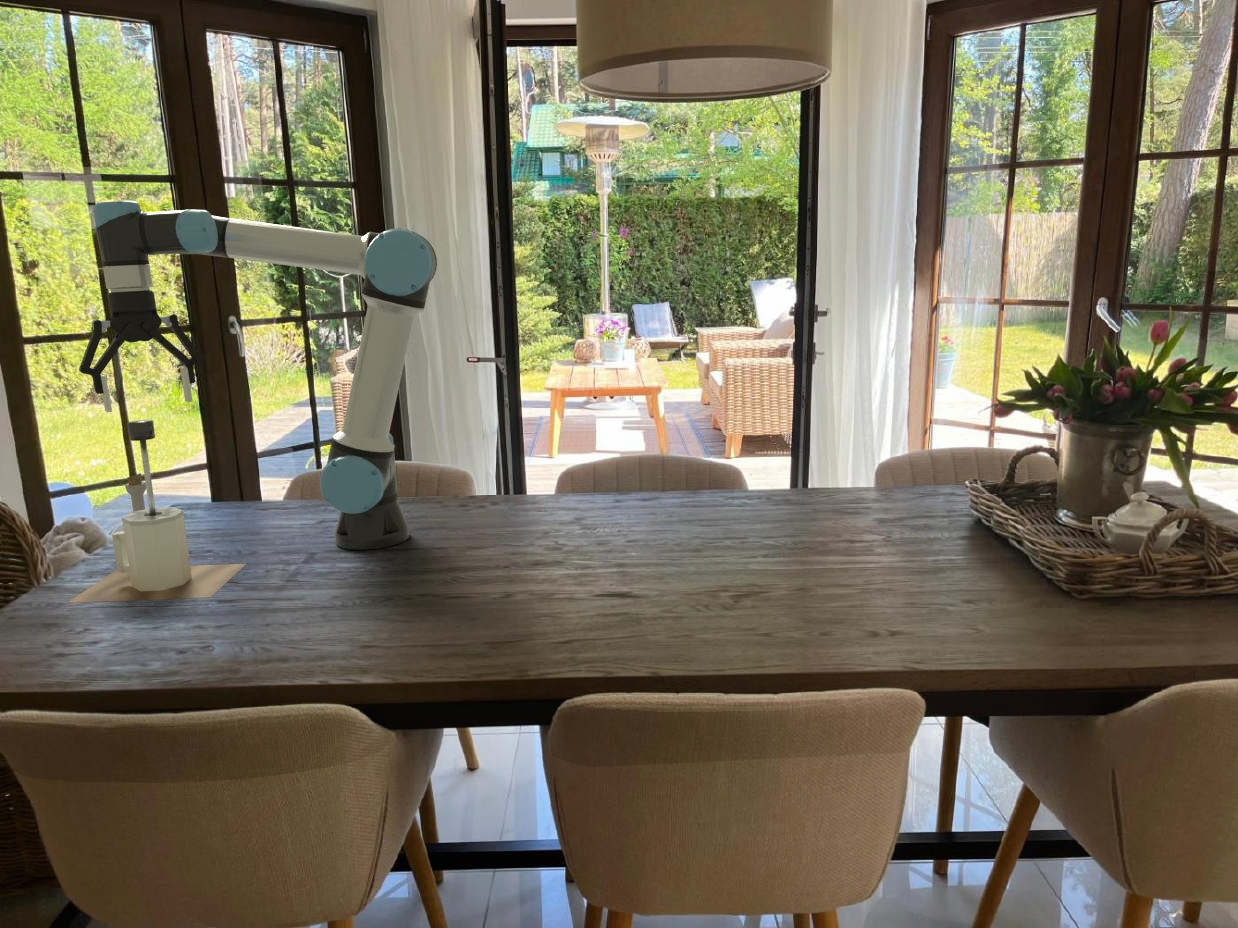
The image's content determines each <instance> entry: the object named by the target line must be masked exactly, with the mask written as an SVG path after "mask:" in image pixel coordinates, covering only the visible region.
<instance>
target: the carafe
mask: <svg viewBox="0 0 1238 928" xmlns="http://www.w3.org/2000/svg"><path fill="white" fill-rule="evenodd" d="M155 510H156V516H150V512H149V508H145V510H140V511H135V512H133V511H131V512H129V513H128V514H126V515H125V516H123V517H121V521H122V527H123V530H121V531H120V530H119V531H116V532H114V533H113V534H112V535H111V536H112V544H113V551H114V558H115V564H116V570H117V572H121V573H128V572H130V577H131V584H132V587H134V588H135V589H137V590H139V591H161V590H166V589H169V588H173V587H177V586H181V585H184V584H185V583H186V582H187V581H188V580H190V579H191V578H192V575H191V567H190V566H191V561H190V553H189V545H188V537H187V530H186V522H185V513H184V509H180V508H177V507H175V506H172V507H171V506H170V507H168V506H167V507H166V506H165V507H155Z"/></svg>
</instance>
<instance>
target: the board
mask: <svg viewBox="0 0 1238 928" xmlns="http://www.w3.org/2000/svg"><path fill="white" fill-rule="evenodd" d="M246 565H247V563H233V564H231V563H230V564H204V565H203V564H201V565H190V567H191V575H192V578H191V579H190V580H188V581H187V582H186V583H185V584H184V585H181V586H177V587H173V588H169V589H166V590H161V591H139V590H137V589H135V588H134V587H132V584H131V577H130V572H128V573H121V572H117V569H115V570H114V571H112V572H111V573H109V574H108V575H107V576H105V577H103V578H102V579H100V580H99V581H97V582H96V583H95V584H93V585H92V586H90V587H89V588H87V589H86V590H85V591H83V592H81V593H80V594H78V595H77V596H76V597H74V598H72V599H71V600H69V601H67V604H75V603H76V604H79V603H81V604H83V603H98V602H99V603H105V602H110V603H111V602H129V601H132V602H133V601H134V602H135V601H158V600H162V601H163V600H181V599H182V600H184V599H185V600H186V599H209V598H212V597H213V596H214V595H216V593H218V591H219V590H221V589H222V588H223V587H224V586H225V585H226V584H227V583H228V582H229V581H230V580H231V579H232V578H234V577H235V576H236V575H237V574H238V573H239V572H240V571H241V570H242V569H243V568H244V567H245V566H246Z"/></svg>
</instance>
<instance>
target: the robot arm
mask: <svg viewBox="0 0 1238 928" xmlns="http://www.w3.org/2000/svg"><path fill="white" fill-rule="evenodd" d="M93 216H94V223H95V227H94V230H95V232H96V237H97V242H98V247H99V253H100V259H101V262H102V263H101V265H102V270H103V276H104V282H105V288H106V289H107V290H110V292H108V294H107V296H106V297H107V299H108V306H109V307H108V308H109V310H110V311H109V312H110V319H109V320H99V319H93V320H92V321H91V329H92V330H91V331H92V332H91V336H90V338H89V341H88V344H87V345H86V348H85V352H84V354H83V357H82V359H81V362H80V366H79V369H78V371H79V373H82V374H83V375H89V376H91V378H92V382H93V389H94V392H95V393H96V395H100V394H101V395H102V401H103V406H104V411H105V412H106V413H112V412H113V410H112V409H113V408H112V403H111V397H110V393H109V385H108V381H107V376H106V374H105V375H104V374H102V373H103V371H104V370H105V369H106V367H107V366H108V364H109V363H110V362H111V360H112V359H113V357H114V356H115V355H116V353H117V352H118V350H119V349H120V348H121V347H122V345H123V344H124V343H125V342H127V343H130V344H131V343H137V342H150V341H151V340H154V341H155V342H157V343H158V344H159V345H161V347H163V349H165V350H166V351H167V352H169V354H171V355H172V356H173V357H175V359H176V360H177V361H179V362H180V363H182V364H183V365H184V366H180V367H179V368H180V369H179V370H180V376H181V382H182V383H181V384H182V388H183V394H184V395H183V397H184V401H185V402H186V403H192V402H193V396H192V388H191V384H195V383H196V378H195V377H196V376H195V371H194V366H195V365H197V364H198V363H201V362H202V361H203V359H204V358H203V357H202V355H201V353H199V351H198V349H197V348H196V347H195V345H194V344H193V342H192V341H191V339H190V338H189V337H188V336H187V334H186V333H185V331H184V330H183V329H182V327H181V326H180V323H179V320H178V316H177V315H176V314H172V313H170V314H168V315H165V316H159V314H158V309H157V305H156V304H157V303H156V296H155V292H154V291H153V290H151V288H152V287H153V286H154V284H153V279H152V278H153V277H152V274H151V273H152V272H151V268H150V261H149V256H157V255H158V256H159V255H204V256H212V257H221V258H226V259H227V258H229V259H236V260H244V261H253V262H258V263H259V262H260V263H268V264H276V265H283V266H288V267H290V266H291V267H298V268H305V269H314V270H320V271H327V272H333V273H334V272H337V273H343V274H350V275H358V276H361V277H362V279H364V281H363V286H362V290H361V297H362V298H363V299H364V301H365V303H366V305H367V307H366V314H365V318H364V323H363V326H362V327H363V329H362V332H361V333H362V334H361V337H360V342H359V348H358V352H357V357H356V362H355V366H354V372H353V377H352V382H351V386H350V390H349V396H348V401H347V406H346V410H345V416H344V420H343V426H342V428H341V429H340V430H339V431H336V433H333V434H332V438H331V443H330V448H329V452H328V458H327V461H326V465H324V467H323V469H322V471H321V473H320V476H319V478H320V479H319V487H320V491H321V494H322V496H323V498H324V500H325V501H326V502H327V503H328V504H329V505H330V506H331V507H332V508H333V509H335V510H337V511H338V512H339V514H338V519H337V523H336V527H335V531H334V541H335V545H336V546H338V547H339V548H343V549H345V550H356V551H357V550H361V551H365V550H377V549H382V548H388V547H392V546H396V545H399V544H401V543H403V542H405V541H407V540H408V539H410V532H409V531H410V530H409V527H410V526H409V524H408V522H407V519H406V517H405V515H404V513H403V510H402V508H401V506H400V502H399V498H398V497H399V496H398V483H397V481H398V480H397V472H396V471H397V469H396V468H397V467H396V459H395V457H396V456H395V448H396V446H395V445H396V444H394V437H393V435H392V434H391V433H390V430H391V425H392V421H393V416H394V413H395V407H396V402H397V398H398V392H399V387H400V384H401V379H402V374H403V370H404V366H405V365H404V364H405V360H406V356H407V351H408V346H409V342H410V336H411V332H412V328H413V323H414V318H415V317H416V316H417V315H419V314H420V313H422V312H423V311H424V310H425V307H426V301H427V297H428V292H429V289H430V284H431V282H432V280H433V278H434V276H435V275H436V272H437V268H438V258H437V254H436V251H435V248H434V247H433V246H432V244H431V243H430V242H429V241H428V239H426V238H425V237H424V236H423V235H420V234H419V233H417V232H415V231H412V230H410V229H408V228H407V229H405V228H400V227H398V228H397V227H396V228H391V229H386V230H384V231H382V232H374V231H369V232H367V233H366V234H365V235H357V234H350V233H342V232H335V231H334V232H333V231H327V230H321V229H319V230H318V229H314V228H313V229H311V228H307V227H306V228H305V227H298V226H291V225H282V224H274V223H267V222H260V221H253V220H252V221H251V220H246V219H237V218H229V217H222V216H216V215H212V214H211V213H210V212H209V211H208V210H206V209H190V208H188V209H182V210H181V209H180V210H165V211H143V210H142V209H141V205H140V204H139V202H137V201H133V200H107V201H106V200H105V201H100V202H97V203H96V204H94V206H93ZM162 323H163V324H164V325H165V327H167V328H170V329H171V331H172V333H174V335H175V337H176V338H177V340H178V341H179V342H180V343H181V345H182V347H184V349H185V350H186V352H187V353H188V355H189V356H190V357H188V356H187V355H185V354H184V352H182V351H181V350H180V349H178V348H177V346H175V345H174V344H173V343H171V341H169V340H168V339H167V338H166V337H165V336H164V335H163V334H162V333H160V332H159V329H160V327H161V325H162ZM108 328H110V329H112V331H114V332H115V333H116V335H114V337H113V339H112V341H111V342H110V344H109V345H108V346H107V348H106V350H104V352H103V354H102V355H101V356H100V358H99V359H98V360H97V362H96V363H95V365H94V366H93V367H91V365H92V363H93V360H94V357H95V355H96V352H97V350H98V346H99V344H100V341H101V339H102V336H103V333H105V332H107V329H108Z"/></svg>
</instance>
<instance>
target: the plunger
mask: <svg viewBox="0 0 1238 928" xmlns="http://www.w3.org/2000/svg"><path fill="white" fill-rule="evenodd" d="M127 429H128V430H127V432H128V437H129V441H131V442H132V441H133V442H137V441H138V442H139V445H140V453H141V461H142V467H143V468H142V469H143V475H144V482H145V483H146V490H145V492H146V496H147V498H146V499H147V504H148V509H149V512H150V516H156V510H155V508H156V504H155V498H154V497H155V496H154V491H153V490H154V488H153V483H152V475H151V468H150V467H151V465H150V460H149V450H148V444H147V441H148V440H153V439H156V433H155V425H154V420H153V419H138V420H132V421H129V422H127Z"/></svg>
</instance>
